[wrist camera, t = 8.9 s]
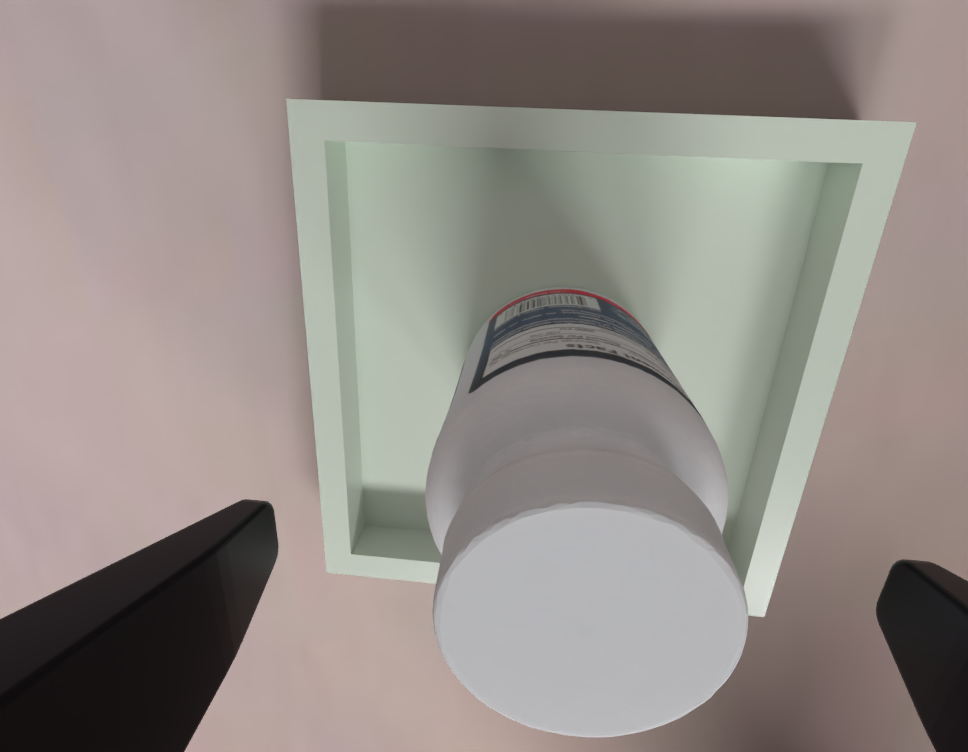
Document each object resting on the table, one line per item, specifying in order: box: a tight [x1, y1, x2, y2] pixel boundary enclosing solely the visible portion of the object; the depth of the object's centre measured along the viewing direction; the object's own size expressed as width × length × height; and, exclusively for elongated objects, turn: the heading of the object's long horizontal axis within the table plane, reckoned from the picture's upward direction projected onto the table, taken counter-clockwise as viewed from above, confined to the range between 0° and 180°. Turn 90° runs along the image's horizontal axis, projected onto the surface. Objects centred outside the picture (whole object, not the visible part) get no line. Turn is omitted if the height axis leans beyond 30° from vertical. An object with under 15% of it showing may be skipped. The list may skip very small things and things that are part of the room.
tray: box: [286, 99, 917, 617], centre depth 15 cm, size 13×13×2 cm
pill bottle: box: [425, 287, 748, 737], centre depth 11 cm, size 5×5×9 cm
